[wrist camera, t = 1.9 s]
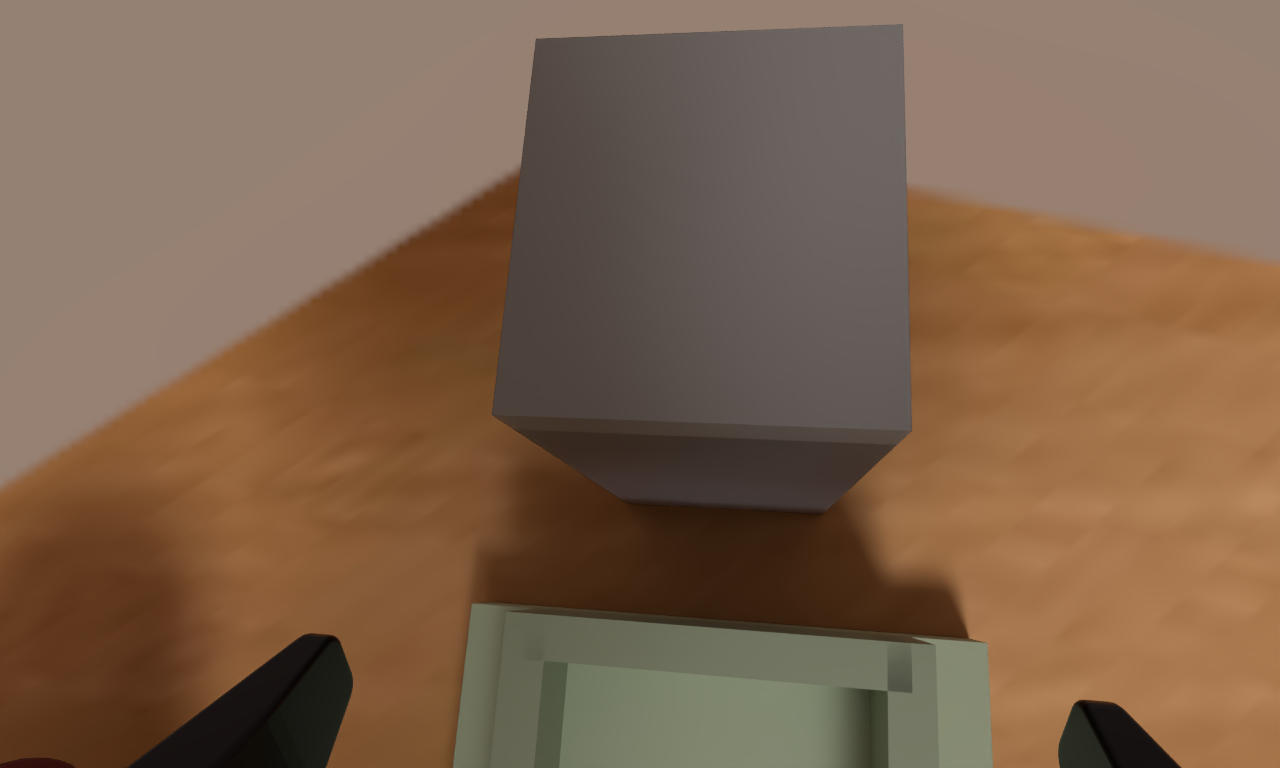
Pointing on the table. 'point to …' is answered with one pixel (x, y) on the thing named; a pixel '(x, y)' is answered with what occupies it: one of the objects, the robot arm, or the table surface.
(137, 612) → the table surface
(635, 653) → the socket base
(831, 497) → the gray block
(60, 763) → the mug
